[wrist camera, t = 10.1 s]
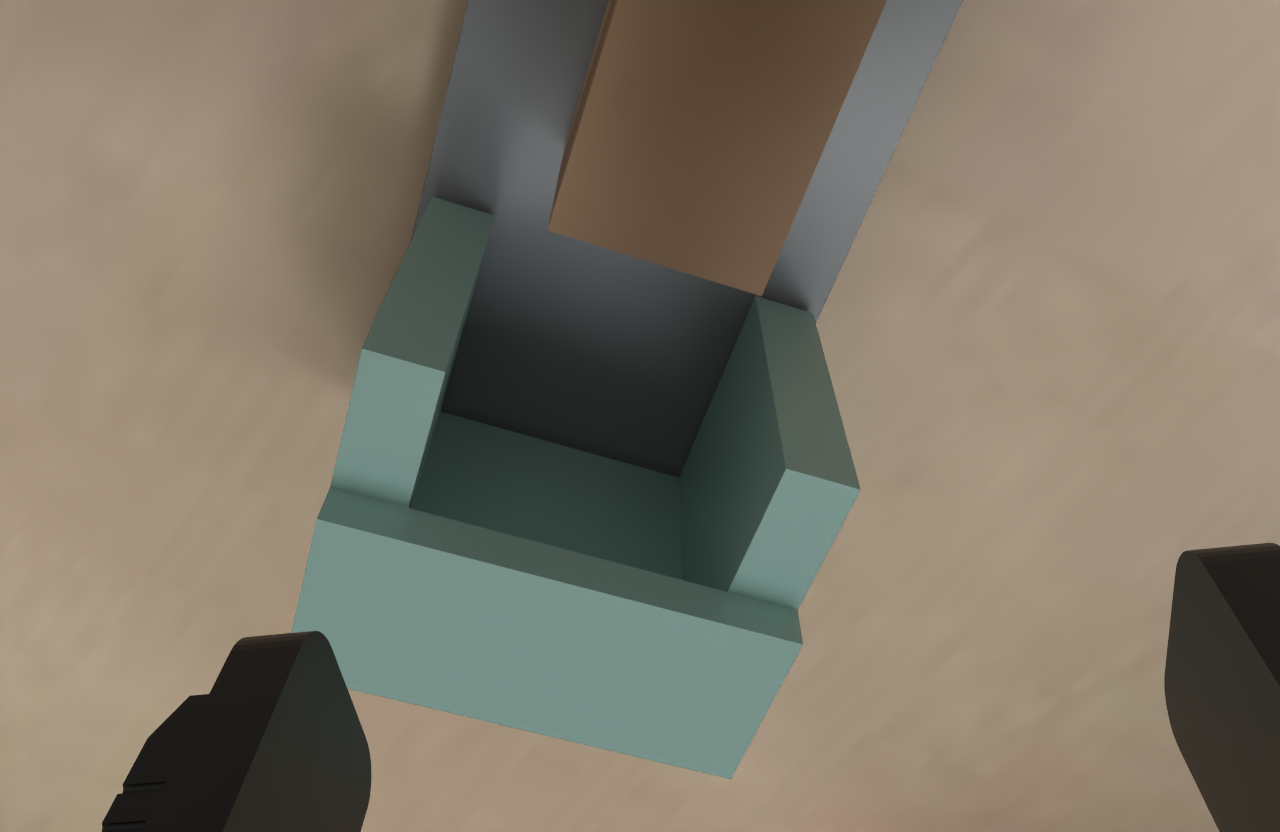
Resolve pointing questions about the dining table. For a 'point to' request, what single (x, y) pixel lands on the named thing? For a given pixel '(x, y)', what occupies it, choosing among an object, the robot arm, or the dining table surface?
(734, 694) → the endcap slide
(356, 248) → the dining table surface
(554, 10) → the rail
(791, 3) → the brown rectangular block
